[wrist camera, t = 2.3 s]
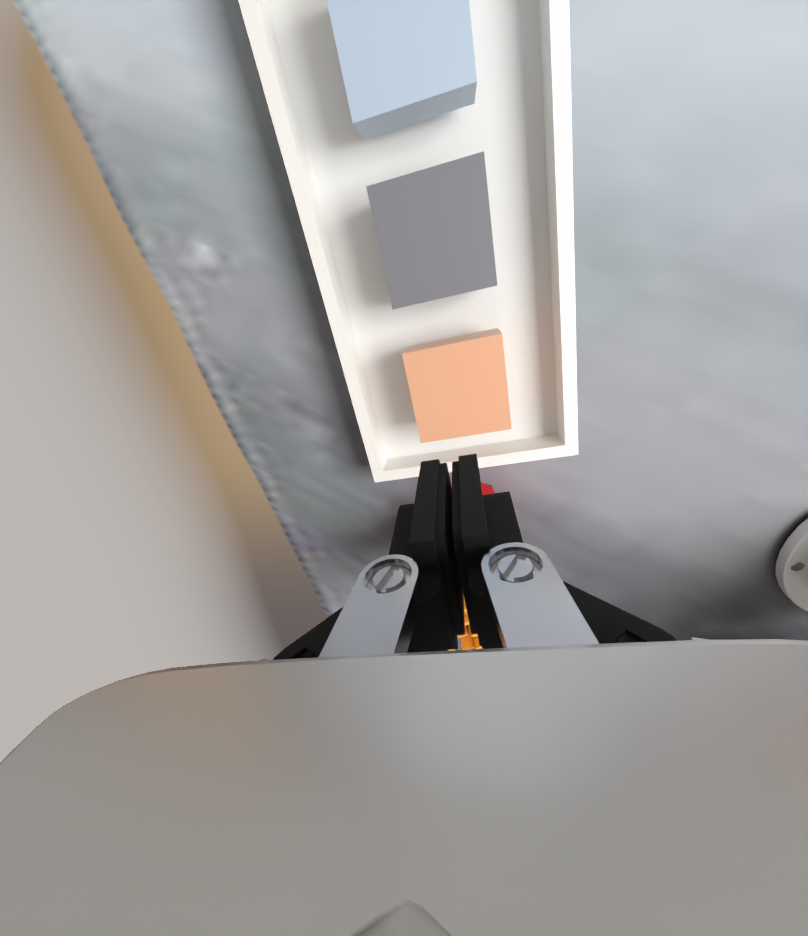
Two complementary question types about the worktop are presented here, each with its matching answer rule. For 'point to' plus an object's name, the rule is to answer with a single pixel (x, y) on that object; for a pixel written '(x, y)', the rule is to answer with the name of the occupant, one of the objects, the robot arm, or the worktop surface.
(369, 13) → the dusty blue key
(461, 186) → the charcoal key
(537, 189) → the white rectangular tray
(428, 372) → the terracotta key
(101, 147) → the worktop surface
